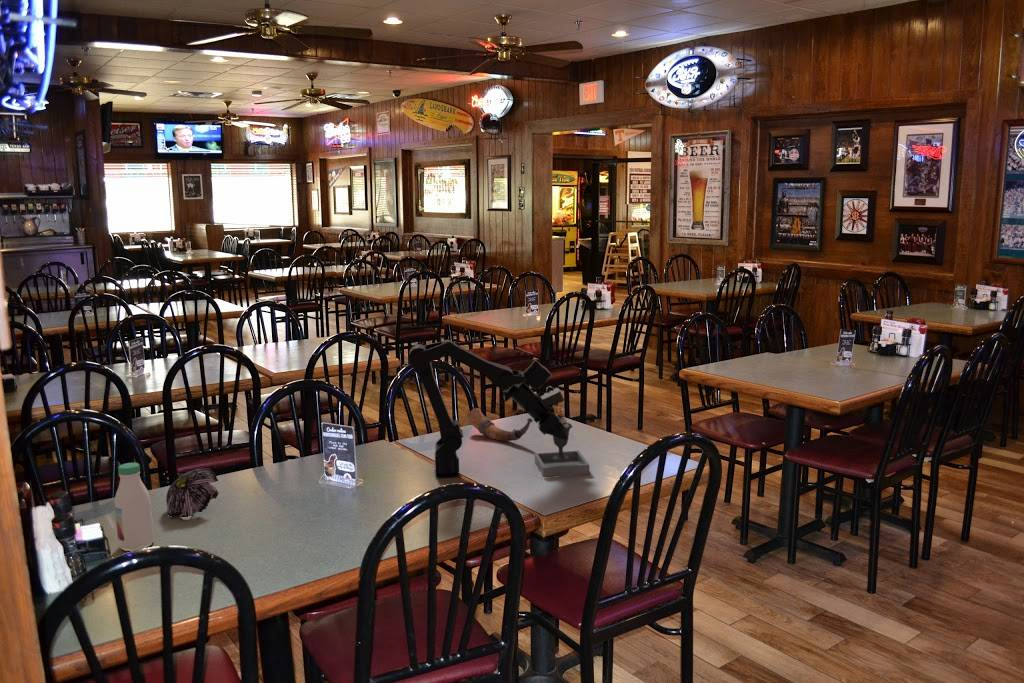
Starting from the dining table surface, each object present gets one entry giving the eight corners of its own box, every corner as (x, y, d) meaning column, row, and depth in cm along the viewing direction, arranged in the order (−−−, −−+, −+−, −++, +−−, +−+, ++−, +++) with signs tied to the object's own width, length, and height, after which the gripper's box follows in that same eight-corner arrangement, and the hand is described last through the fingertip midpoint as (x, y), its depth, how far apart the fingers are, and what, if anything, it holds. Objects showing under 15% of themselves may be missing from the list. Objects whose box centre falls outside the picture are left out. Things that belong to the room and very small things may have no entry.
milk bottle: (159, 538, 201) (151, 459, 197) (147, 552, 193) (138, 470, 190) (127, 539, 201) (119, 460, 197) (113, 553, 193) (104, 471, 189)
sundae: (561, 453, 250) (562, 405, 247) (576, 459, 245) (576, 409, 242) (544, 457, 246) (544, 408, 243) (559, 463, 241) (559, 413, 238)
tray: (543, 477, 238) (543, 467, 238) (534, 462, 252) (534, 453, 251) (589, 474, 240) (589, 464, 240) (578, 459, 253) (578, 450, 253)
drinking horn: (475, 430, 287) (474, 402, 285) (538, 447, 267) (537, 417, 265) (464, 433, 283) (463, 405, 281) (526, 451, 263) (526, 420, 261)
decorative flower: (146, 477, 216) (201, 450, 223) (159, 509, 222) (213, 482, 230) (166, 506, 206) (222, 477, 214) (179, 539, 212) (234, 509, 220)
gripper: (551, 387, 232) (590, 424, 235) (543, 373, 250) (578, 407, 253) (523, 415, 232) (562, 452, 235) (517, 399, 250) (553, 433, 253)
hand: (565, 435), depth 244 cm, fingers closed on sundae, 6 cm apart
